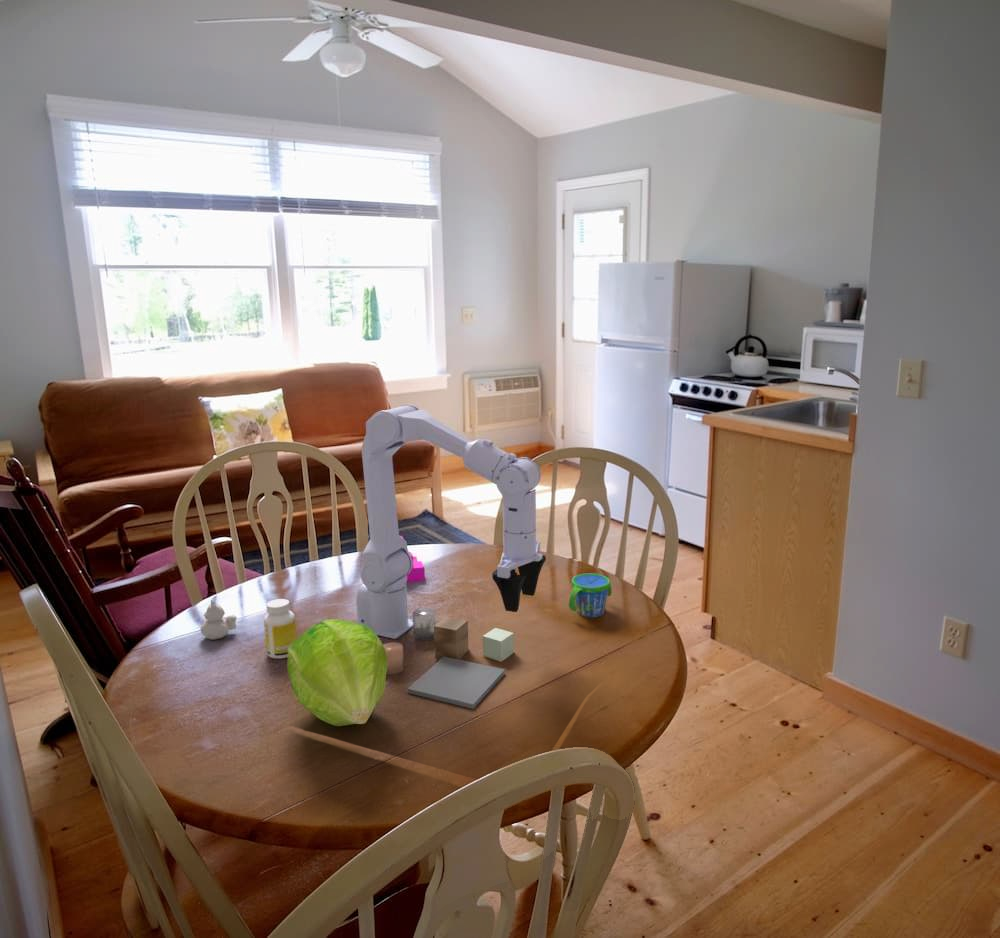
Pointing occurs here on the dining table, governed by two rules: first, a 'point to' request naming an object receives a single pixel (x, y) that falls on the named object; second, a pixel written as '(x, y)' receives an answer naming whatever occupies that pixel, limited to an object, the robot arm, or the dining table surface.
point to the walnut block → (451, 638)
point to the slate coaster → (457, 682)
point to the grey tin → (424, 623)
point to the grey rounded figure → (217, 622)
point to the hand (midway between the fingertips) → (520, 602)
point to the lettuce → (338, 671)
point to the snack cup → (589, 594)
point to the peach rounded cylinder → (394, 657)
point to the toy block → (416, 570)
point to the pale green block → (498, 644)
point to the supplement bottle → (279, 628)
